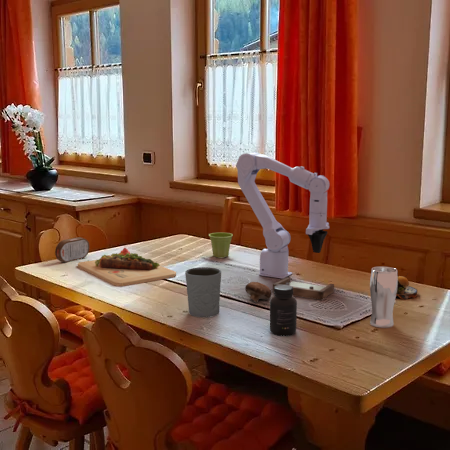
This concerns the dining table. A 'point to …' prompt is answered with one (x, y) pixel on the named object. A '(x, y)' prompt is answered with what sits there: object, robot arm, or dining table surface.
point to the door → (306, 285)
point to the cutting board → (126, 269)
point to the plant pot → (220, 244)
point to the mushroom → (258, 291)
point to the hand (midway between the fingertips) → (316, 252)
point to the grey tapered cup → (203, 291)
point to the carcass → (307, 290)
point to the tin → (72, 249)
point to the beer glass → (383, 296)
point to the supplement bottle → (283, 311)
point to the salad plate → (405, 288)
